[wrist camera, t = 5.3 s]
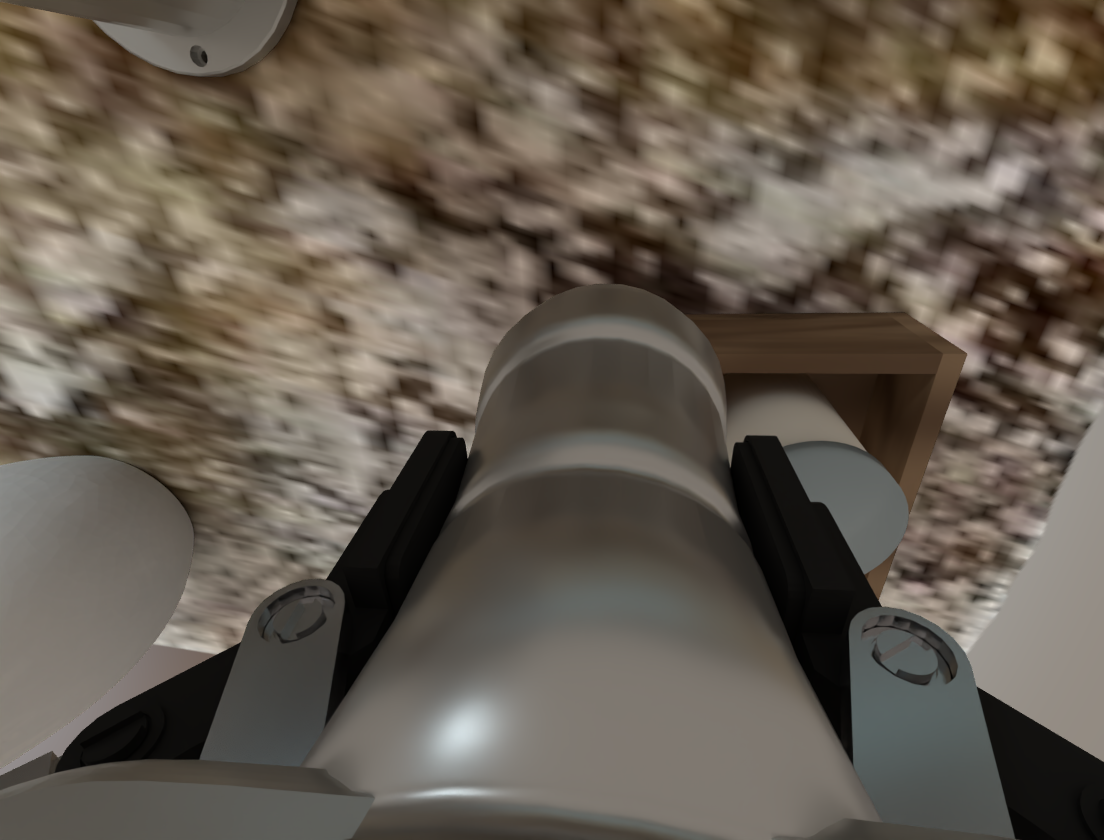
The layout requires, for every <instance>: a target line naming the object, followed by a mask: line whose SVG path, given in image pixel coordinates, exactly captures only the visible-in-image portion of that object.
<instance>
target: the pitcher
mask: <svg viewBox="0 0 1104 840" xmlns="http://www.w3.org/2000/svg"><path fill="white" fill-rule="evenodd" d="M193 546H194V532H193V527H192V523H191V520H190V518H189V516H188V514H187V512H186V511H185V509H184V507H183V506H182V505H181V503H180V502H179V501H178V499H177V498H176V497H175V496H174V495H173V494H172V493H171V492H170V491H169V490H168V489H167V488H166V487H165V486H164V485H162V484H161V483H160V482H158V481H157V480H156V479H154V478H153V477H151V476H150V475H148V474H146V473H145V472H143V471H142V470H140V469H138V468H136V467H134V466H131V465H129V464H127V463H124V462H121V461H118V460H114V459H110V458H105V457H100V456H63V457H51V458H41V459H34V460H27V461H21V462H15V463H10V464H5V465H0V769H1V768H2V767H4V766H6V765H7V764H9V763H11V762H12V761H14V760H15V759H17V758H18V757H20V756H21V755H23V754H24V753H26V752H27V751H29V750H30V749H32V748H33V747H35V746H36V745H38V744H39V743H41V742H42V741H44V740H45V739H47V738H48V737H50V736H51V735H53V734H54V733H55V732H57V731H58V730H60V729H61V728H63V727H64V726H65V725H67V724H68V723H70V722H71V721H72V720H74V719H75V718H76V717H77V716H79V715H80V714H82V713H83V712H84V711H85V710H87V709H88V708H89V707H90V706H92V705H93V704H94V703H95V702H97V701H98V700H99V699H100V698H101V697H102V696H104V695H105V694H106V693H107V692H108V691H109V690H110V689H111V688H113V687H114V686H115V685H116V684H117V683H118V682H119V681H120V680H121V679H122V678H123V677H124V676H125V675H126V674H127V673H128V672H129V671H130V670H131V669H132V668H133V667H134V666H135V665H136V664H137V663H138V661H139V660H140V659H141V658H142V657H143V656H144V654H145V653H146V652H147V651H148V650H149V648H150V647H151V646H152V645H153V643H154V642H155V641H156V639H157V638H158V637H159V635H160V634H161V632H162V631H163V629H164V628H165V626H166V625H167V623H168V621H169V620H170V618H171V616H172V615H173V613H174V611H175V609H176V607H177V605H178V603H179V601H180V599H181V596H182V594H183V591H184V588H185V585H186V581H187V578H188V574H189V570H190V566H191V560H192V555H193Z"/></svg>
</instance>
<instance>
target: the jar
mask: <svg viewBox="0 0 1104 840" xmlns="http://www.w3.org/2000/svg"><path fill="white" fill-rule="evenodd" d="M723 379H724V383H725V392H726V401H727V439H726V446H727V451H728V457H729V462H730V468H731V461H732V454H733V447H734V444H735V443H736V442H743V441H744V438H745V436H746V435H766V436H777V437H778V439H779V441H780V443H781V445H782V447H783V449H784V451H785V453H786V454H787V456H788V458H789V460H790V462H791V464H792V466H793V468H794V470H795V472H796V474H797V476H798V478H799V480H800V482H801V484H802V486H803V488H804V490H805V492H806V494H807V496H808V498H809V500H810V502H822V503H824V504H825V505H826V506H827V508H828V509H829V511H830V513H831V514H832V516H833V518H834V520H835V522H836V524H837V525H838V527H839V529H840V531H841V533H842V535H843V536H844V538H845V540H846V542H847V544H848V546H849V547H850V549H851V551H852V553H853V555H854V557H855V558H856V560H857V562H858V564H859V566H860V568H861V569H862V571H863V573H864V574H866V573H868V572H869V571H871V570H873V569H874V568H876V567H877V566H878V565H880V564H881V563H882V562H883V561H885V560H886V559H887V558H888V557H889V556H890V555H891V554H892V552H893V551H894V550H895V549H896V548H897V546H898V545H899V543H900V542H901V540H902V538H903V536H904V533H905V531H906V528H907V524H908V516H909V511H908V504H907V500H906V497H905V495H904V493H903V491H902V489H901V487H900V486H899V485H898V483H897V482H896V481H895V480H894V478H893V477H892V476H891V474H890V473H889V472H888V471H887V469H886V468H885V467H884V465H883V464H882V463H881V462H880V461H879V460H877V459H876V458H875V457H874V456H872V455H871V454H869V453H868V452H867V451H866V450H865V449H864V447H863V446H862V445H861V443H860V442H859V441H858V439H857V438H856V437H855V435H854V434H853V433H852V431H851V430H850V429H849V427H848V426H847V425H846V423H845V422H844V421H843V419H842V418H841V417H840V415H839V414H838V413H837V412H836V410H835V409H834V408H833V406H832V405H831V404H830V402H829V401H828V400H827V398H826V397H825V396H824V394H823V393H822V392H821V390H820V389H819V388H818V386H817V385H816V384H815V382H814V381H813V380H812V379H811V378H810V377H809V376H808V375H807V374H806V373H728V374H727V375H725V376H724V377H723Z"/></svg>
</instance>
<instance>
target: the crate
mask: <svg viewBox="0 0 1104 840" xmlns="http://www.w3.org/2000/svg"><path fill="white" fill-rule="evenodd" d="M684 315H685V316H687V317H688V318H689V319H690V320H692V321H693V322H694V323H695V325H696V326H697V327H698V328H699V329H700V330H701V332H702V333H703V334H704V335H705V336H706V338H707V339H708V340H709V342H710V344H711V346H712V348H713V350H714V352H715V354H716V355H717V357H718V359H719V362H720V366H721V370H722V374H723V377H724V376H725V375H727V374H728V373H806V374H807V375H808V376H809V377H810V378H811V379H812V380H813V381H814V382H815V384H816V385H817V386H818V388H819V389H820V390H821V392H822V393H823V394H824V396H825V397H826V398H827V400H828V401H829V402H830V404H831V405H832V406H833V408H834V409H835V410H836V412H837V413H838V414H839V415H840V417H841V418H842V419H843V421H844V422H845V423H846V425H847V426H848V427H849V429H850V430H851V431H852V433H853V434H854V435H855V437H856V438H857V439H858V441H859V442H860V443H861V445H862V446H863V447H864V449H865V450H866V451H867V452H868V453H869V454H871V455H872V456H874V457H875V458H876V459H877V460H879V461H880V462H881V463H882V464H883V465H884V467H885V468H886V469H887V471H888V472H889V473H890V474H891V476H892V477H893V478H894V480H895V481H896V482H897V483H898V485H899V486H900V487H901V489H902V491H903V493H904V495H905V497H906V500H907V504H908V511H909V514H910V511H911V509H912V506H913V503H914V500H915V498H916V495H917V492H918V489H919V486H920V484H921V481H922V478H923V475H924V473H925V470H926V467H927V464H928V462H929V459H930V456H931V453H932V450H933V448H934V445H935V442H936V439H937V437H938V434H939V431H940V428H941V425H942V423H943V420H944V417H945V414H946V412H947V409H948V406H949V403H950V401H951V398H952V395H953V392H954V389H955V387H956V384H957V381H958V378H959V376H960V373H961V370H962V367H963V365H964V362H965V359H966V356H967V353H966V352H964V351H962V350H961V349H959V348H958V347H956V346H955V345H953V344H952V343H950V342H949V341H947V340H946V339H944V338H943V337H941V336H940V335H938V334H937V333H935V332H934V331H932V330H931V329H929V328H928V327H926V326H925V325H923V324H922V323H920V322H918V321H917V320H915V319H914V318H912V317H911V316H909V315H908V314H906V313H905V312H900V313H779V314H684ZM908 517H909V516H908ZM897 547H898V546H897ZM896 550H897V548H896V549H895V550H894V551H893V552H892V554H891V555H890V556H889V557H888V558H887V559H886V560H885V561H883V562H882V563H881V564H880V565H878V566H877V567H876V568H874V569H873V570H871V571H869V572H868V573H866V574H864V575H865V577H866V579H867V580H868V582H869V584H870V586H871V588H872V590H873V591H874V593H875V595H876V597H877V599H878V600H879V597H880V594H881V592H882V589H883V586H884V583H885V581H886V578H887V575H888V572H889V570H890V567H891V564H892V561H893V558H894V556H895V553H896Z"/></svg>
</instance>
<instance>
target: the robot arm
mask: <svg viewBox="0 0 1104 840" xmlns="http://www.w3.org/2000/svg"><path fill="white" fill-rule="evenodd" d="M0 2H5V3H10V4H15V5H20V6H25V7H30V8H35V9H40V10H45V11H50V12H55V13H60V14H65V15H70V16H75V17H80V18H85V19H90V20H93V21H94V22H95V23H96V24H97V25H98V26H99V27H100V28H101V29H102V30H103V32H104V33H105V34H107V35H108V36H109V37H110V38H112V39H113V40H114V41H116V42H117V43H118V44H120V45H121V46H122V47H123V48H125V49H126V50H127V51H129V52H130V53H132V54H134V55H135V56H137V57H139V58H141V59H143V60H145V61H146V62H148V63H150V64H152V65H154V66H157V67H159V68H162V69H165V70H168V71H171V72H174V73H177V74H184V75H191V76H198V77H223V76H227V75H230V74H234V73H238V72H241V71H244V70H246V69H247V68H249V67H251V66H252V65H254V64H256V63H257V62H259V61H261V60H262V59H263V58H264V57H265V56H266V55H267V54H268V53H269V52H270V51H271V50H272V49H273V48H274V47H275V46H276V45H277V43H278V42H279V40H280V38H281V37H282V35H283V33H284V32H285V30H286V28H287V27H288V25H289V23H290V21H291V18H292V15H293V12H294V9H295V6H296V3H297V0H0ZM467 460H468V458H467V451H466V445H465V441H464V439H463V438H457V436H456V434H455V432H454V431H426V432H425V434H424V435H423V437H422V439H421V440H420V442H419V443H418V445H417V447H416V448H415V450H414V451H413V453H412V455H411V456H410V458H409V460H408V461H407V463H406V464H405V466H404V468H403V469H402V471H401V472H400V474H399V476H398V477H397V479H396V481H395V482H394V484H393V485H392V487H391V489H390V490H386V491H383V492H382V494H381V495H380V496H379V497H378V499H377V501H376V502H375V504H374V505H373V507H372V508H371V510H370V512H369V513H368V515H367V516H366V518H365V519H364V521H363V522H362V524H361V526H360V527H359V529H358V530H357V532H356V533H355V535H354V537H353V538H352V540H351V541H350V543H349V544H348V546H347V548H346V549H345V551H344V552H343V554H342V555H341V557H340V559H339V560H338V562H337V563H336V565H335V566H334V568H333V570H332V571H331V573H330V574H329V576H328V577H327V579H326V580H324V579H308V580H303V581H299V582H296V583H292V584H290V585H288V586H286V587H284V588H282V589H280V590H278V591H276V592H275V593H273V594H272V595H271V596H269V597H268V598H266V599H265V600H264V601H263V602H262V603H261V604H260V605H259V606H258V607H257V609H256V610H255V611H254V613H253V614H252V616H251V618H250V620H249V622H248V624H247V627H246V630H245V633H244V635H243V638H242V641H241V643H239V644H237V645H235V646H233V647H231V648H229V649H227V650H225V651H223V652H221V653H219V654H217V655H215V656H213V657H211V658H209V659H207V660H206V661H204V662H202V663H200V664H198V665H196V666H194V667H192V668H190V669H188V670H186V671H184V672H182V673H180V674H179V675H176V676H175V677H173V678H171V679H169V680H167V681H165V682H163V683H161V684H159V685H157V686H155V687H153V688H151V689H149V690H147V691H145V692H143V693H141V694H139V695H138V696H136V697H134V698H132V699H130V700H128V701H126V702H124V703H122V704H120V705H118V706H116V707H115V708H113V709H111V710H110V711H108V712H106V713H105V714H103V715H102V716H100V717H98V718H97V719H96V720H95V721H94V722H92V723H91V724H90V725H89V726H88V727H86V728H85V729H84V730H83V731H82V732H81V733H80V734H79V735H78V736H77V737H76V738H75V739H74V740H73V742H72V743H71V744H70V745H69V746H68V747H67V748H66V750H65V752H64V753H63V755H62V756H60V757H57V756H56V755H55V754H54V753H53V751H51V752H49V753H47V754H45V755H43V756H41V757H38V758H36V759H35V760H32V761H30V762H28V763H26V764H24V765H22V766H20V767H18V768H16V769H13V770H12V771H10V772H7V773H5V774H3V775H1V776H0V840H344V839H349V838H352V837H353V835H354V834H355V832H356V830H357V829H358V827H359V825H360V824H361V822H362V820H363V819H364V817H365V815H366V813H367V812H368V810H369V808H370V807H371V805H372V803H373V802H374V800H375V797H374V796H372V795H371V794H368V793H361V792H355V791H351V790H350V789H349V788H348V787H346V786H345V785H344V784H342V783H341V782H340V781H339V780H337V779H335V778H334V777H332V776H330V775H329V774H328V772H327V770H326V769H319V768H308V767H300V765H301V764H302V762H303V761H304V759H305V757H306V756H307V754H308V753H309V751H310V750H311V748H312V747H313V745H314V744H315V742H316V740H317V739H318V737H319V736H320V734H321V733H322V731H323V730H324V728H325V727H326V725H327V723H328V722H329V720H330V719H331V717H332V716H333V714H334V713H335V711H336V709H337V708H338V706H339V705H340V703H341V702H342V700H343V699H344V697H345V696H346V694H347V692H348V691H349V689H350V688H351V686H352V685H353V683H354V682H355V680H356V679H357V677H358V675H359V674H360V672H361V671H362V669H363V668H364V666H365V665H366V663H367V662H368V660H369V658H370V657H371V655H372V654H373V652H374V651H375V649H376V648H377V646H378V644H379V643H380V641H381V640H382V638H383V637H384V635H385V634H386V632H387V631H388V629H389V627H390V626H391V624H392V623H393V621H394V620H395V618H396V616H397V614H398V612H399V610H400V608H401V606H402V604H403V602H404V600H405V598H406V596H407V594H408V592H409V590H410V589H411V587H412V585H413V583H414V581H415V579H416V577H417V575H418V573H419V571H420V569H421V567H422V565H423V563H424V561H425V559H426V557H427V555H428V553H429V552H430V550H431V548H432V546H433V544H434V542H435V541H436V540H437V538H438V536H439V534H440V531H441V529H442V527H443V525H444V523H445V520H446V519H447V517H448V515H449V513H450V511H451V509H452V507H453V505H454V503H455V501H456V498H457V494H458V491H459V488H460V484H461V481H462V477H463V474H464V471H465V467H466V464H467ZM730 469H731V474H732V479H733V484H734V490H735V495H736V501H737V506H738V511H739V515H740V517H741V520H742V522H743V524H744V527H745V529H746V532H747V534H748V537H749V539H750V542H751V545H752V549H753V553H754V557H755V559H756V560H757V562H758V564H759V566H760V567H761V569H762V571H763V574H764V576H765V579H766V581H767V584H768V586H769V589H770V591H771V594H772V596H773V599H774V601H775V604H776V606H777V609H778V611H779V614H780V616H781V619H782V621H783V624H784V626H785V629H786V631H787V634H788V636H789V639H790V641H791V644H792V646H793V649H794V651H795V654H796V656H797V659H798V661H799V663H800V665H801V666H802V668H803V670H804V672H805V674H806V676H807V678H808V680H809V682H810V684H811V686H812V688H813V689H814V691H815V693H816V695H817V697H818V699H819V701H820V703H821V705H822V707H823V709H824V711H825V712H826V714H827V716H828V718H829V720H830V722H831V724H832V726H833V728H834V730H835V732H836V734H837V735H838V737H839V739H840V741H841V743H842V745H843V747H844V749H845V751H846V753H847V755H848V757H849V759H850V760H851V762H852V764H853V767H854V769H855V770H856V772H857V774H858V776H859V778H860V780H861V782H862V784H863V786H864V788H865V790H866V791H867V793H868V795H869V797H870V799H871V801H872V803H873V805H874V807H875V809H876V811H877V812H878V814H879V816H880V818H881V820H882V822H875V821H866V820H858V819H847V818H844V819H842V820H840V821H838V822H836V823H834V824H832V825H830V826H828V827H826V828H824V829H822V830H821V831H819V832H818V833H816V834H815V835H813V836H810V837H807V838H804V837H788V836H776V837H773V838H771V839H772V840H1104V762H1103V761H1101V760H1099V759H1098V758H1096V757H1094V756H1093V755H1091V754H1089V753H1088V752H1086V751H1084V750H1082V749H1081V748H1079V747H1077V746H1076V745H1074V744H1072V743H1071V742H1069V741H1067V740H1066V739H1064V738H1062V737H1061V736H1059V735H1057V734H1055V733H1054V732H1052V731H1051V730H1049V729H1047V728H1046V727H1044V726H1042V725H1041V724H1039V723H1037V722H1035V721H1034V720H1032V719H1030V718H1029V717H1027V716H1025V715H1024V714H1022V713H1020V712H1019V711H1017V710H1015V709H1014V708H1012V707H1010V706H1009V705H1007V704H1005V703H1003V702H1002V701H1000V700H998V699H997V698H995V697H993V696H992V695H990V694H988V693H987V692H985V691H983V690H982V689H980V688H978V687H977V686H976V683H975V679H974V675H973V671H972V667H971V665H970V662H969V660H968V658H967V656H966V654H965V652H964V651H963V649H962V648H961V647H960V646H959V645H958V643H957V642H956V641H955V640H954V639H953V638H952V637H951V636H950V635H949V634H947V633H946V632H945V631H944V630H942V629H941V628H940V627H939V626H937V625H936V624H934V623H932V622H930V621H928V620H927V619H925V618H923V617H921V616H919V615H916V614H913V613H910V612H908V611H905V610H902V609H896V608H890V607H882V606H881V604H880V602H879V601H878V599H877V597H876V595H875V593H874V591H873V590H872V588H871V586H870V584H869V582H868V580H867V579H866V577H865V575H864V573H863V571H862V569H861V568H860V566H859V564H858V562H857V560H856V558H855V557H854V555H853V553H852V551H851V549H850V547H849V546H848V544H847V542H846V540H845V538H844V536H843V535H842V533H841V531H840V529H839V527H838V525H837V524H836V522H835V520H834V518H833V516H832V514H831V513H830V511H829V509H828V508H827V506H826V505H825V504H824V503H822V502H810V500H809V498H808V496H807V494H806V492H805V490H804V488H803V486H802V484H801V482H800V480H799V478H798V476H797V474H796V472H795V470H794V468H793V466H792V464H791V462H790V460H789V458H788V456H787V454H786V453H785V451H784V449H783V447H782V445H781V443H780V441H779V439H778V437H777V436H766V435H746V436H745V438H744V441H743V442H736V443H735V444H734V447H733V454H732V461H731V468H730Z"/></svg>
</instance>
